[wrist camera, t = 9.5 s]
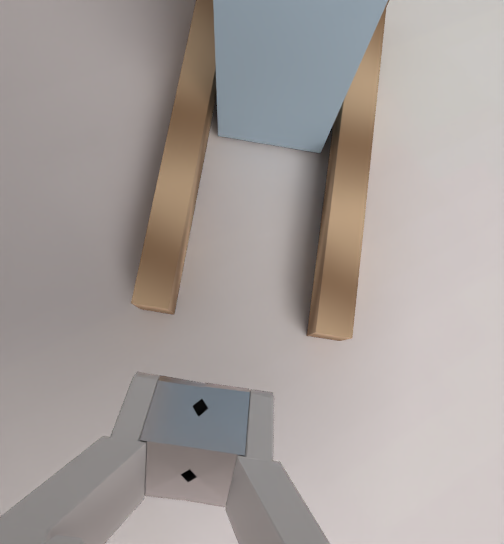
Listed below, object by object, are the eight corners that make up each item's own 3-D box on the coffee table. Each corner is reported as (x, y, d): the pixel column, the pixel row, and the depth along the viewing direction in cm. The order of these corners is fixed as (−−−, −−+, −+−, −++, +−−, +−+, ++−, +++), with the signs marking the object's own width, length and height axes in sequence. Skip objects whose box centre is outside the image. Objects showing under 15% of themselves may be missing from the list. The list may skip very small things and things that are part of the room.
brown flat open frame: (339, 341, 20) (359, 336, 17) (140, 309, 19) (125, 299, 16) (375, 13, 23) (396, -37, 20) (208, -16, 23) (206, -71, 20)
